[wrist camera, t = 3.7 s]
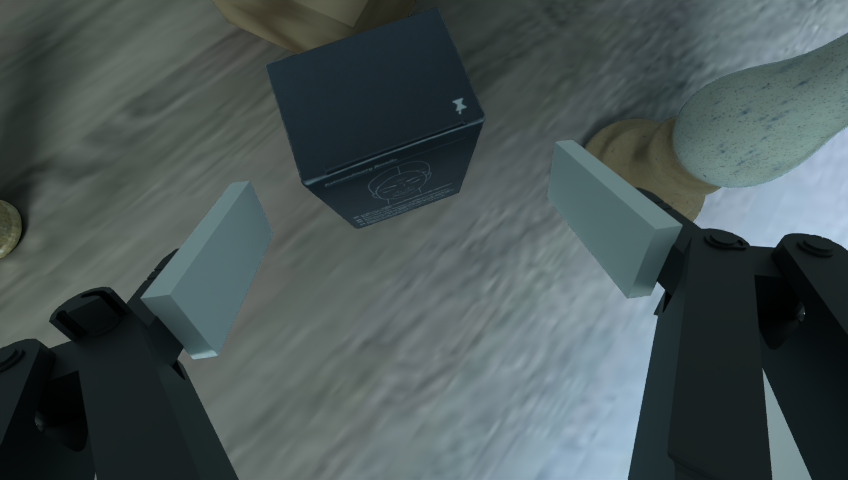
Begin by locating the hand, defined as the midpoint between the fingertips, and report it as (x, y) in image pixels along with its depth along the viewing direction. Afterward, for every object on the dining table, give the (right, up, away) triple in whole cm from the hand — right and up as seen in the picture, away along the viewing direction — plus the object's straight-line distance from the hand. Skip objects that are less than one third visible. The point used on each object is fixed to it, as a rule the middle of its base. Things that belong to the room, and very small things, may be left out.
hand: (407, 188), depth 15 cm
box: (-1, +2, +9) cm, 10 cm away
